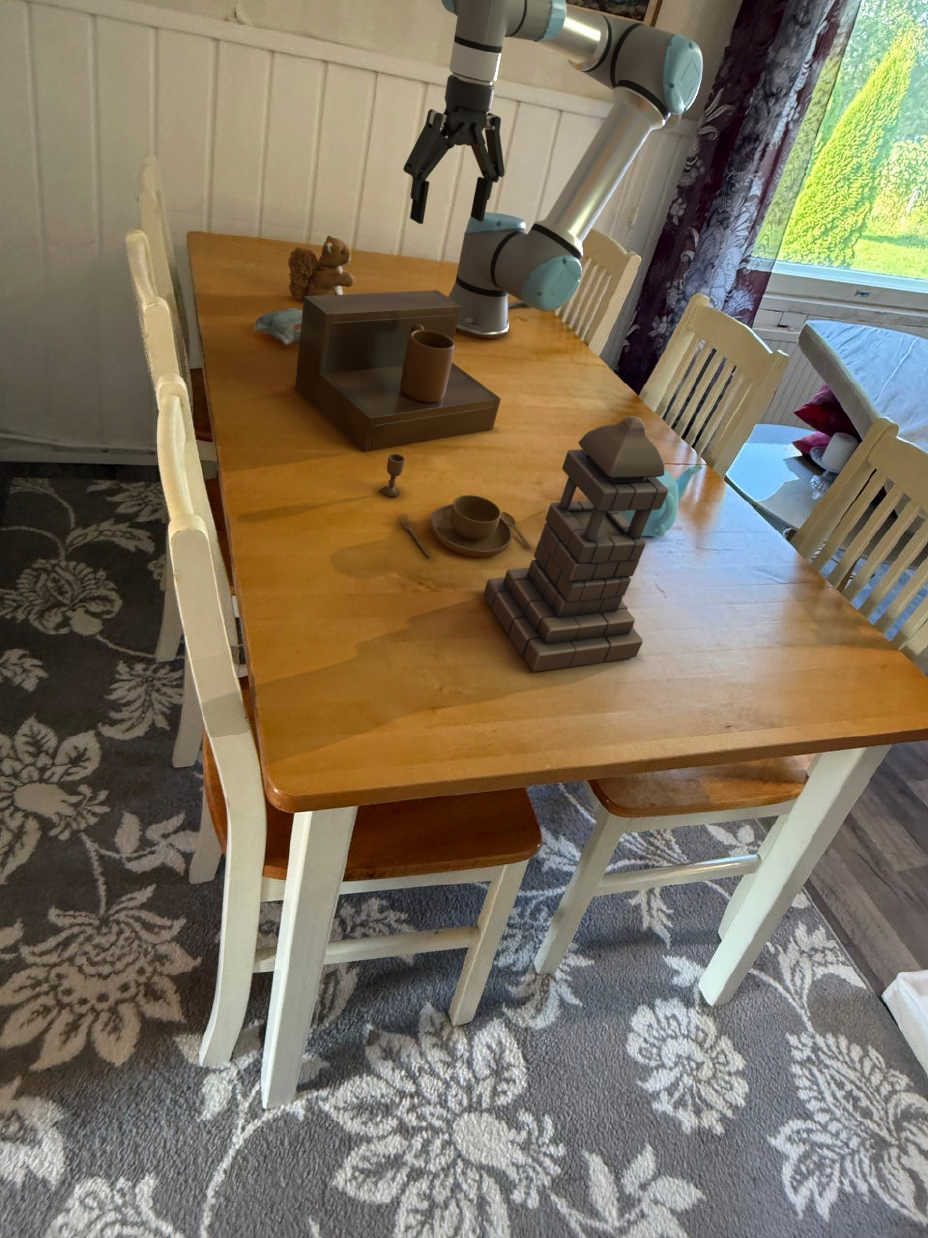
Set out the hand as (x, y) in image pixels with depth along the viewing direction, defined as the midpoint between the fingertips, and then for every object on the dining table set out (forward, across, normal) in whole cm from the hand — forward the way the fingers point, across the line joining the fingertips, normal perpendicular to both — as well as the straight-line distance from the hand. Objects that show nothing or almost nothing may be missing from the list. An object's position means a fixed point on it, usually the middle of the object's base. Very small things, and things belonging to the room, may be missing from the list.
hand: (447, 220), depth 147 cm
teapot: (+27, 0, +56) cm, 63 cm away
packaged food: (+27, +19, -16) cm, 37 cm away
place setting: (+26, +28, +44) cm, 59 cm away
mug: (+21, +15, +17) cm, 31 cm away
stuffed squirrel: (+27, +3, -32) cm, 42 cm away
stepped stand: (+27, +16, +13) cm, 34 cm away
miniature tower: (+26, +31, +69) cm, 80 cm away
